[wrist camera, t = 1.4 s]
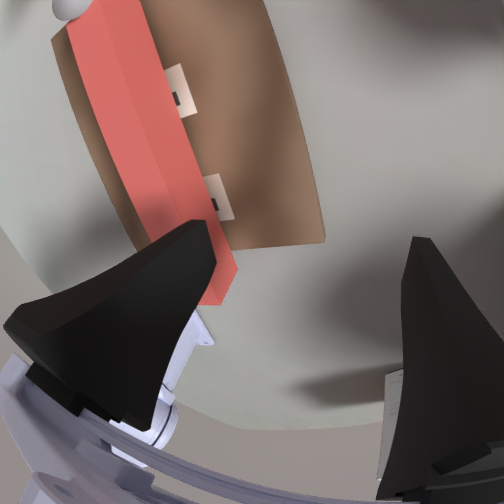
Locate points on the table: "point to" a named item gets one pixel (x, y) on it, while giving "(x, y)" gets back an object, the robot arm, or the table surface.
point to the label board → (220, 121)
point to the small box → (389, 416)
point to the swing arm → (143, 124)
